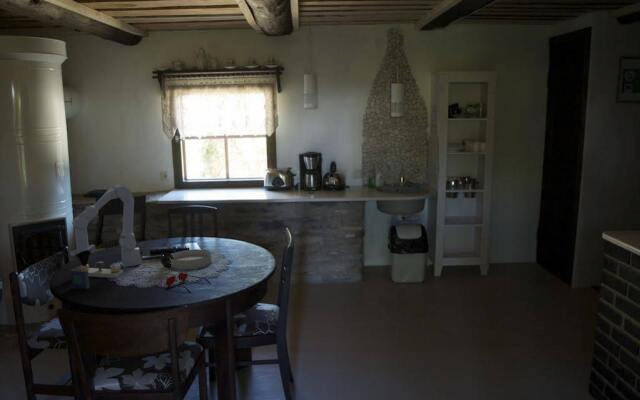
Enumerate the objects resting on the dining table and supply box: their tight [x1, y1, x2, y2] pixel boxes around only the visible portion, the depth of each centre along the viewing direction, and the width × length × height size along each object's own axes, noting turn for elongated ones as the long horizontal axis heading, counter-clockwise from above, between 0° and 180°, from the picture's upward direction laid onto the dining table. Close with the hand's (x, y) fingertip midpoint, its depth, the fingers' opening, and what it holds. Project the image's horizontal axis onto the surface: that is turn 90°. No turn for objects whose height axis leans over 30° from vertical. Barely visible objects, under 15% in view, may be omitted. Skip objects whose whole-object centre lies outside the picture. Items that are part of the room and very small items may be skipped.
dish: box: [169, 248, 212, 270], centre depth 275 cm, size 22×22×5 cm
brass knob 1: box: [80, 263, 90, 270], centre depth 261 cm, size 4×4×4 cm
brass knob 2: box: [110, 265, 121, 273], centre depth 256 cm, size 4×4×4 cm
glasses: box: [164, 271, 212, 294], centre depth 239 cm, size 14×16×5 cm
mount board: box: [88, 267, 124, 279], centre depth 259 cm, size 22×7×2 cm, turn 76°
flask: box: [70, 265, 90, 291], centre depth 238 cm, size 9×3×11 cm, turn 74°
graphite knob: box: [94, 260, 105, 270], centre depth 258 cm, size 4×4×4 cm
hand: (84, 265), depth 260 cm, fingers closed, pressing on brass knob 1
